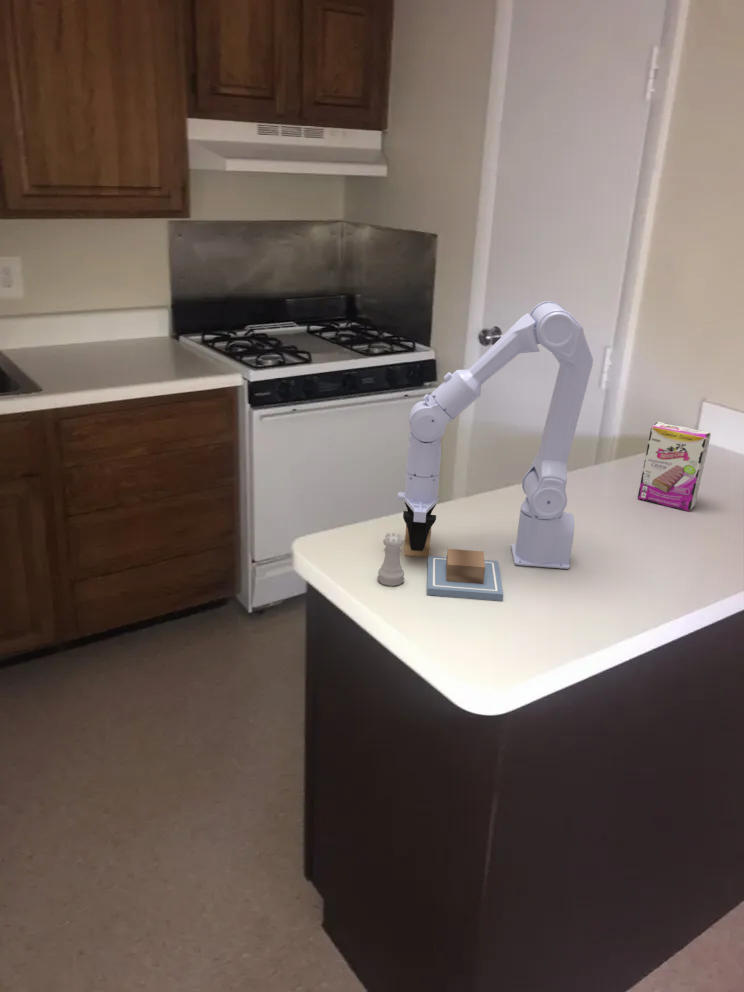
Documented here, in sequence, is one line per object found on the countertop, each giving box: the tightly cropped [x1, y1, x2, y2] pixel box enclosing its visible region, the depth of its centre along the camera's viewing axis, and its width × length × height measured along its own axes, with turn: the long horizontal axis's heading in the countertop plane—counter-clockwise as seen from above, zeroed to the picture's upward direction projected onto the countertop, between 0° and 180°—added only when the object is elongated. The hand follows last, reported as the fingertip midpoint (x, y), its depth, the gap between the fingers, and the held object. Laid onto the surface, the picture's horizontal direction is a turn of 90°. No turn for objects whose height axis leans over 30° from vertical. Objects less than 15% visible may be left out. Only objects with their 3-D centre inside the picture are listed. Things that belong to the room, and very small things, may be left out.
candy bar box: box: [637, 421, 712, 512], centre depth 172 cm, size 11×5×16 cm, turn 58°
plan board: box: [426, 548, 504, 602], centre depth 136 cm, size 12×12×4 cm
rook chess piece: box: [377, 532, 405, 587], centre depth 134 cm, size 4×4×8 cm
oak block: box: [403, 524, 432, 558], centre depth 146 cm, size 4×4×5 cm
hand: (417, 543), depth 146 cm, fingers closed on oak block, 4 cm apart
